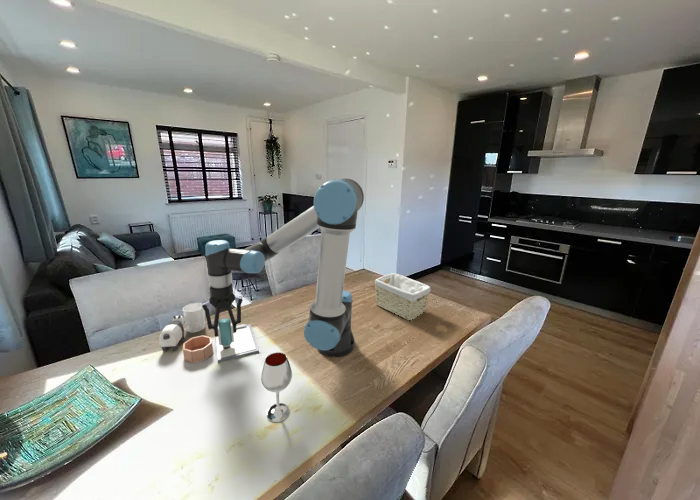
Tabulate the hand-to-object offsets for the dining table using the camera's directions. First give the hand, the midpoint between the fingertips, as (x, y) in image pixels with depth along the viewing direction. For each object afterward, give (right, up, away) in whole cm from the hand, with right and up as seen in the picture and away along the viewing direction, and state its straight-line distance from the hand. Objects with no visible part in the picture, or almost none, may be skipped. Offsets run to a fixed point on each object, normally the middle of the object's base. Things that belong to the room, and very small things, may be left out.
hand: (226, 341), depth 105 cm
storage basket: (+72, +4, +37) cm, 81 cm away
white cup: (-19, +1, +13) cm, 23 cm away
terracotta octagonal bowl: (-9, -4, -2) cm, 10 cm away
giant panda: (-21, -2, +4) cm, 22 cm away
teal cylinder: (0, -2, +1) cm, 2 cm away
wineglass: (+26, -12, -25) cm, 38 cm away
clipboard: (+1, -2, +5) cm, 6 cm away
